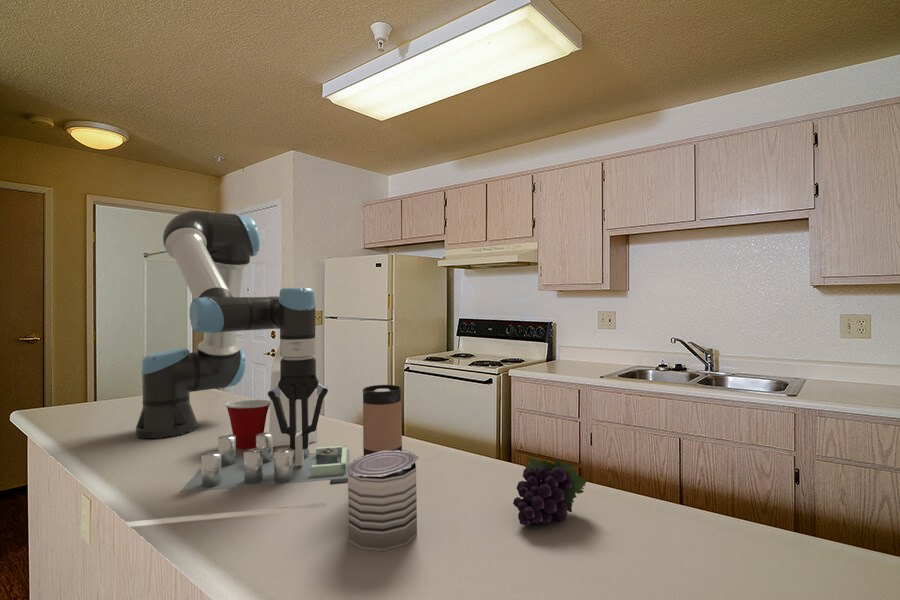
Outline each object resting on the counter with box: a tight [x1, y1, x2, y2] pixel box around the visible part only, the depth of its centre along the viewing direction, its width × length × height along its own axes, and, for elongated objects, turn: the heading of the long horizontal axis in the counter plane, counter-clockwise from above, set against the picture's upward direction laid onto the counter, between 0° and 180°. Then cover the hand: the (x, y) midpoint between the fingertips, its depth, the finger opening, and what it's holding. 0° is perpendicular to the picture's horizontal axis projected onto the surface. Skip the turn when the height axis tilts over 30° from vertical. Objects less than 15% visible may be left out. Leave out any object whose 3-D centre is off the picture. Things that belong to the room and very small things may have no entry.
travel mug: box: [362, 384, 403, 456], centre depth 95 cm, size 8×8×20 cm
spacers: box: [200, 429, 310, 487], centre depth 104 cm, size 18×20×6 cm
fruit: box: [512, 457, 588, 527], centre depth 81 cm, size 10×10×15 cm
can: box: [345, 449, 420, 552], centre depth 77 cm, size 11×11×12 cm
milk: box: [268, 344, 319, 447], centre depth 127 cm, size 12×12×26 cm
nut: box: [315, 448, 338, 465], centre depth 106 cm, size 5×4×3 cm
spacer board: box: [179, 449, 350, 493], centre depth 104 cm, size 18×32×1 cm, turn 101°
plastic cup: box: [224, 399, 270, 451], centre depth 121 cm, size 11×11×12 cm
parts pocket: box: [311, 445, 348, 477], centre depth 107 cm, size 13×7×2 cm, turn 11°
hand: (299, 463), depth 106 cm, fingers closed
